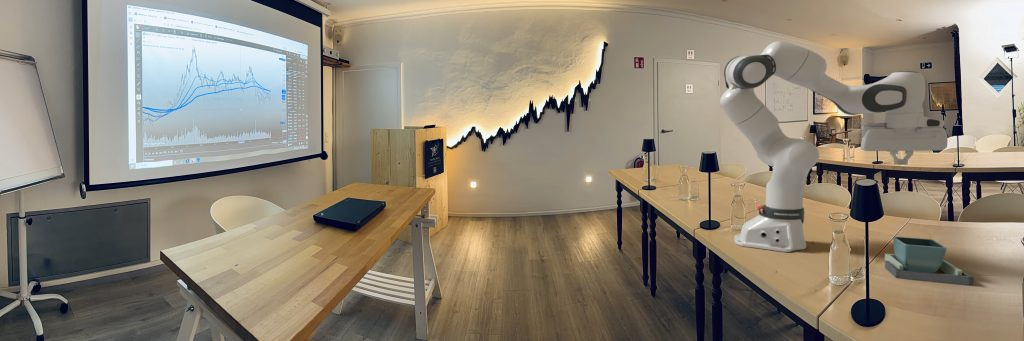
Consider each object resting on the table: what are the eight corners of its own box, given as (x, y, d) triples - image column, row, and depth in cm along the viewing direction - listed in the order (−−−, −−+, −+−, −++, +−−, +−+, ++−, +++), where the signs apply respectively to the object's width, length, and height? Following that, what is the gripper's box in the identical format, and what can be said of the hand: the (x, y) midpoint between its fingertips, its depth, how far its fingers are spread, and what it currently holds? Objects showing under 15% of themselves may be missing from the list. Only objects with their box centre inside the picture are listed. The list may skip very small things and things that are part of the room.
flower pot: (929, 268, 117) (932, 238, 116) (945, 279, 109) (947, 247, 108) (890, 264, 121) (892, 236, 120) (902, 274, 113) (904, 244, 112)
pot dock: (896, 278, 111) (896, 270, 110) (884, 268, 118) (885, 260, 118) (972, 286, 104) (973, 277, 103) (955, 275, 111) (956, 266, 111)
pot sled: (898, 275, 112) (900, 255, 111) (882, 260, 123) (883, 242, 123) (961, 281, 106) (963, 260, 106) (937, 265, 117) (939, 246, 117)
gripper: (865, 123, 129) (862, 165, 131) (952, 120, 120) (948, 165, 122) (858, 123, 135) (856, 163, 137) (941, 120, 126) (938, 163, 127)
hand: (900, 164), depth 129 cm, fingers closed
